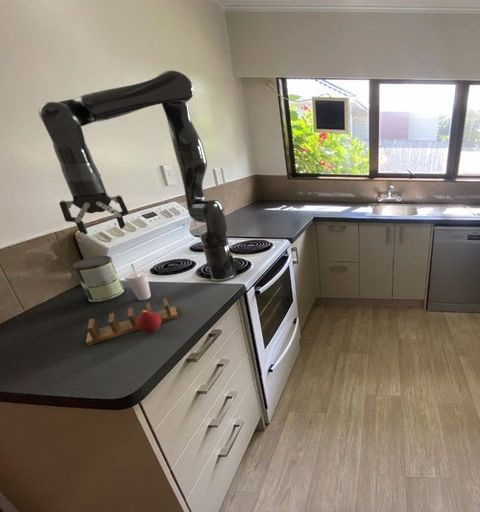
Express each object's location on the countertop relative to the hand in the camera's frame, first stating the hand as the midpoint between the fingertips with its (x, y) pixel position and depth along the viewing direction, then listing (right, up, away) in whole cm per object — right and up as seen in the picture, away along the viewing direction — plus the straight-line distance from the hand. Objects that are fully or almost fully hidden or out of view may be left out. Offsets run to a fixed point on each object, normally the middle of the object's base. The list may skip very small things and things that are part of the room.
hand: (104, 230), depth 91 cm
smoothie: (-1, -24, +16) cm, 29 cm away
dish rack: (+10, -30, 0) cm, 32 cm away
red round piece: (+17, -32, -3) cm, 36 cm away
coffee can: (-17, -23, +18) cm, 34 cm away
